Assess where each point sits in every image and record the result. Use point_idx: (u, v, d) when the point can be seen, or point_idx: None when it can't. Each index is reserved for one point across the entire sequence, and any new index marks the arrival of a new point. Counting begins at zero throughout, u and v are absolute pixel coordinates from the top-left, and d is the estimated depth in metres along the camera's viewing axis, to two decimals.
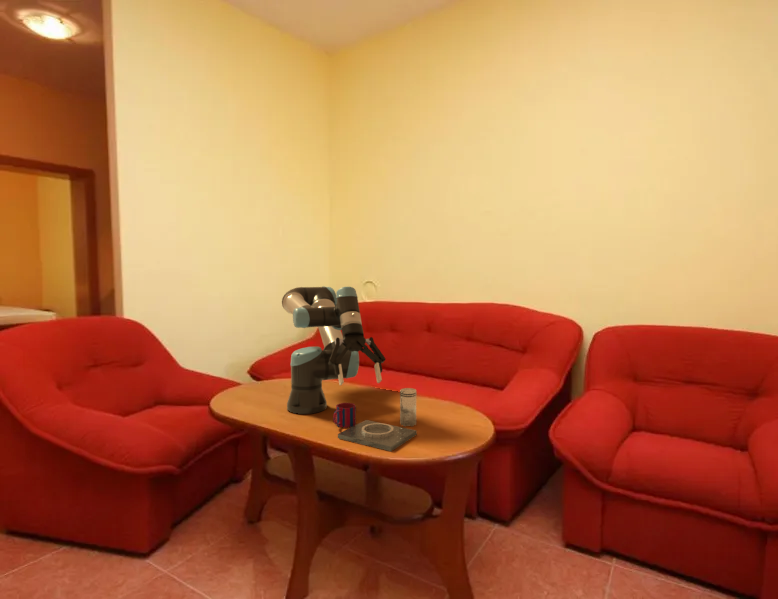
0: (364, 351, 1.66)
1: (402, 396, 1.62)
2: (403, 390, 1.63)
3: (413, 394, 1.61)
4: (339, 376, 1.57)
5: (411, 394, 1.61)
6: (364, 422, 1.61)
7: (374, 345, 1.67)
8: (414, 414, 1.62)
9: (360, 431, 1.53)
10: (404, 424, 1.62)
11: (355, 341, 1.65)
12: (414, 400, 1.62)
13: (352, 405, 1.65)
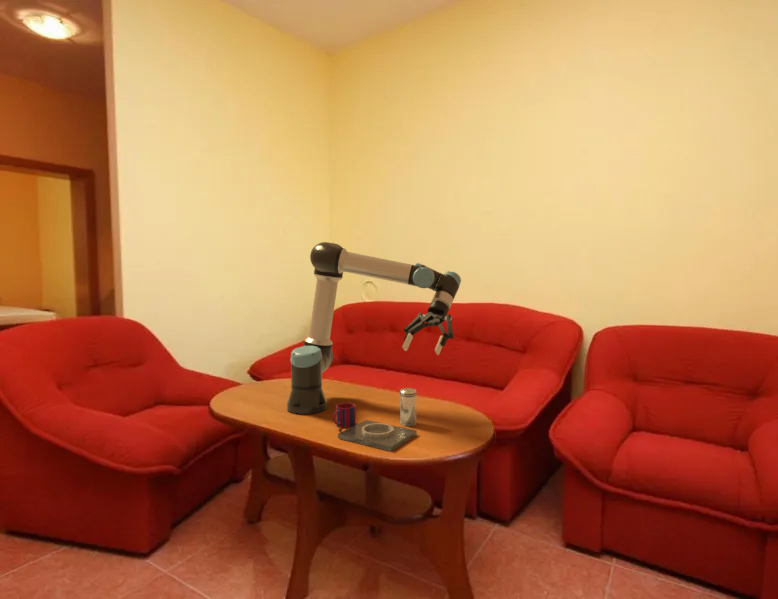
0: (423, 324, 1.77)
1: (402, 396, 1.62)
2: (403, 390, 1.63)
3: (413, 394, 1.61)
4: (440, 346, 1.66)
5: (411, 394, 1.61)
6: (364, 422, 1.61)
7: None
8: (414, 414, 1.62)
9: (360, 431, 1.53)
10: (404, 424, 1.62)
11: None
12: (414, 400, 1.62)
13: (352, 405, 1.65)
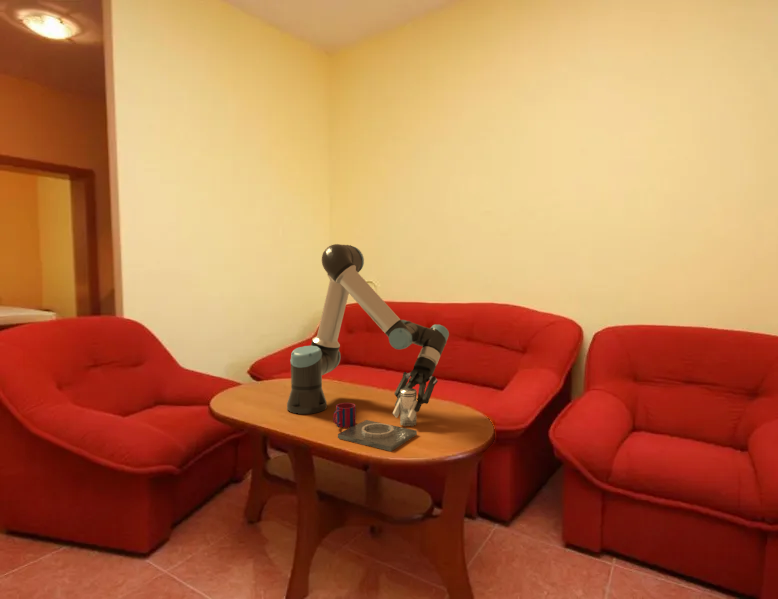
0: (412, 384, 1.69)
1: (402, 396, 1.62)
2: (403, 390, 1.63)
3: (413, 394, 1.61)
4: (414, 412, 1.61)
5: (411, 394, 1.61)
6: (364, 422, 1.61)
7: None
8: None
9: (360, 431, 1.53)
10: (404, 424, 1.62)
11: None
12: (414, 400, 1.62)
13: (352, 405, 1.65)
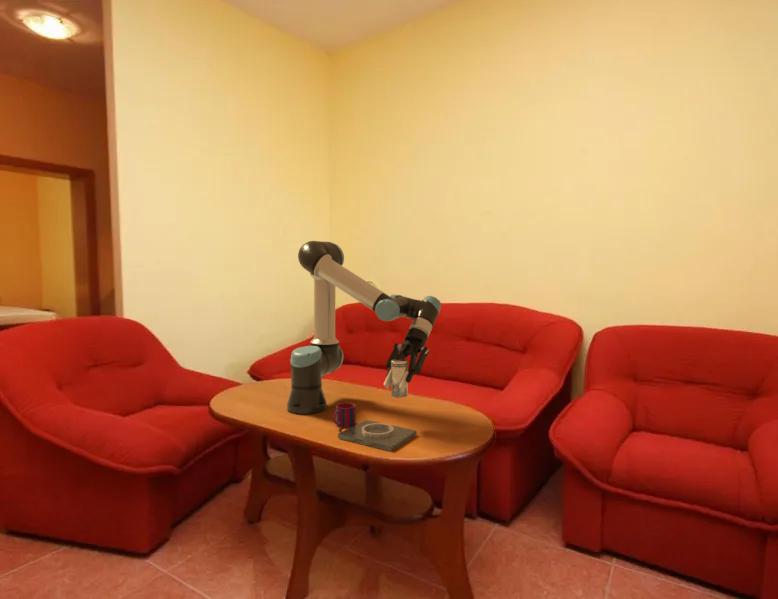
0: (403, 355, 1.65)
1: (393, 366, 1.58)
2: (394, 360, 1.59)
3: (404, 364, 1.57)
4: (405, 383, 1.57)
5: (402, 364, 1.57)
6: (364, 422, 1.61)
7: None
8: None
9: (360, 431, 1.53)
10: (395, 395, 1.58)
11: None
12: (405, 370, 1.58)
13: (352, 405, 1.65)
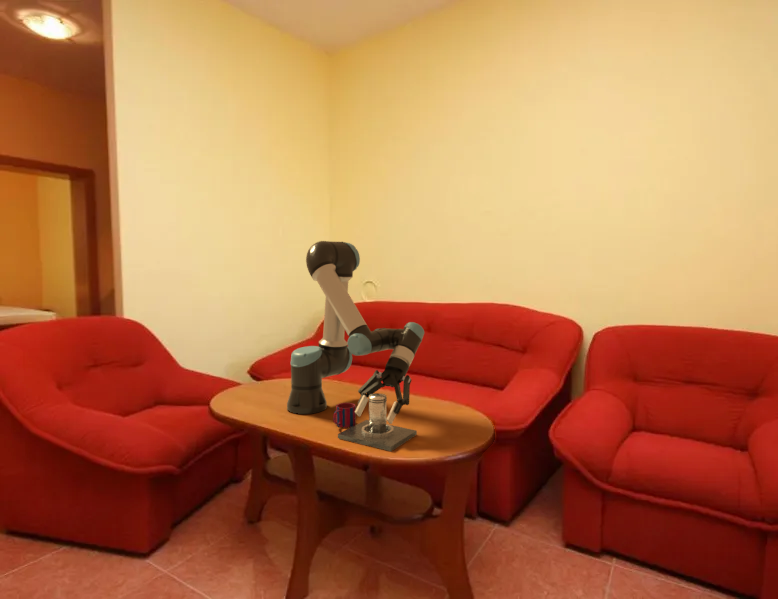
0: (380, 384, 1.57)
1: (371, 402, 1.49)
2: (372, 396, 1.51)
3: (382, 400, 1.49)
4: (393, 414, 1.47)
5: (380, 400, 1.49)
6: (364, 422, 1.61)
7: None
8: (384, 422, 1.50)
9: (360, 431, 1.53)
10: (373, 432, 1.50)
11: None
12: (384, 407, 1.50)
13: (352, 405, 1.65)
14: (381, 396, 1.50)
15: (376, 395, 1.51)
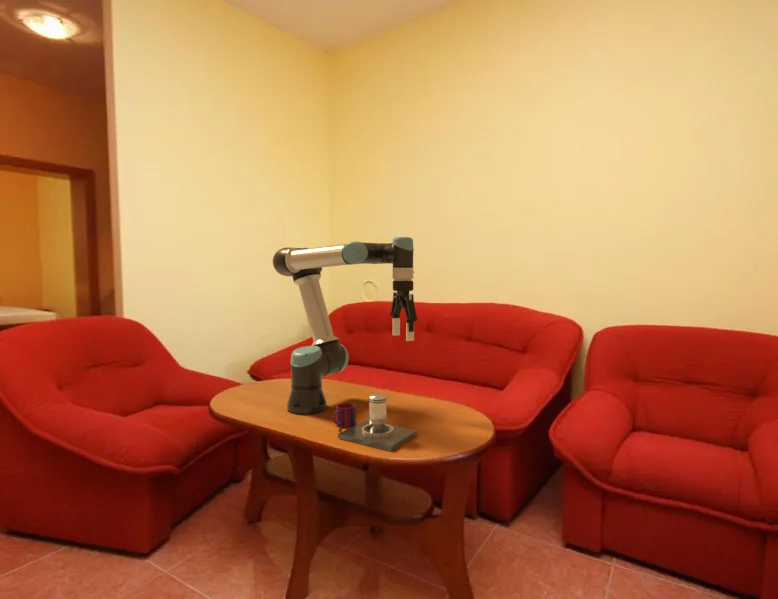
0: (399, 305, 1.74)
1: (370, 402, 1.49)
2: (372, 396, 1.51)
3: (382, 400, 1.49)
4: (410, 333, 1.65)
5: (380, 400, 1.49)
6: (364, 422, 1.61)
7: None
8: (384, 422, 1.50)
9: (360, 431, 1.53)
10: (373, 432, 1.50)
11: None
12: (384, 406, 1.50)
13: (352, 405, 1.65)
14: (381, 396, 1.50)
15: (376, 395, 1.51)
